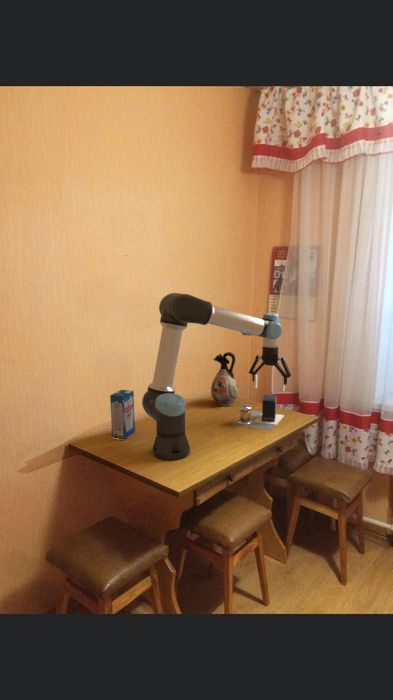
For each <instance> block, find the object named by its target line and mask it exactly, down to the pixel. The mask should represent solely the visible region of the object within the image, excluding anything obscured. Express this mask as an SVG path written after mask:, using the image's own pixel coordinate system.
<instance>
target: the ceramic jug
mask: <svg viewBox="0 0 393 700" xmlns="http://www.w3.org/2000/svg"><path fill="white" fill-rule="evenodd" d="M227 357H231V365H230V368H229V367H228V364H230V360H229V359H228V358H227ZM213 361H215V362H218V363H219V364H220V369H218V372H216V375H215V376H214V377H213V381H212V382H211V388H210V394H211V398H212V399H213V400H214V401H215V403H216V405H218V406H221V407H228V406H233V405H234V402H235V400H237V398H238V396H239V385H238V382H237V380H236V378H235V375H234V373H233V370H234V367H235V364H236V355H235V354H234V352H230V351H227V352H224V354H221V353H219V354H218V355H216V356H215V357H214V358H213Z"/></svg>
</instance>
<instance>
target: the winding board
mask: <svg viewBox="0 0 393 700" xmlns="http://www.w3.org/2000/svg"><path fill="white" fill-rule="evenodd" d="M285 416H286V415H285V414H282V413H281V414H280V413H276V417H275V422H270V421H262V411H259V410H258V411H257V410H250V420H252V424H251V425H240V424H238V420H239V418H238V419H237V420H236V421H235V422H234V423H232V424H233V425H234V426H239V427H248V428H255V429H259V430H260V429H262V430H268V431H273V430H274V429H275V427H277V425H278V424H279V423H280V422H281V421H282V420H283V418H284V417H285Z"/></svg>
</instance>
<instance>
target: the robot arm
mask: <svg viewBox="0 0 393 700" xmlns="http://www.w3.org/2000/svg"><path fill="white" fill-rule="evenodd" d="M212 303H213V302H211V301H208V300H204V299H201V298H200V297H196V296H193V295H192V294H188V293H179V292H172V293H168V294H166V295H165V296H164V297H162V298H161V300H160V302H159V305H158V311H159V313H160V319H159V324H160V325H161V327H162V329H161V334H160V341H159V346H158V352H157V358H156V362H155V367H154V371H153V372H154V373H153V377H152V378H153V379H152V382H151V383H150V384H148V386H147V391H146V392H144V394H143V396H142V399H141V404H142V405H141V406H142V408H143V410H144V412H145V414H147V415H148V416H149V417H150V418H152V419H153V420H154V421H156V422H155V425H156V426H155V429H156V436H155V440H154V444H153V446H152V456H153V457H154V458H156V459H158V460H164V461H177V460H182V459H184V458H186V457H188V456H190V454H191V447H190V444H189V440H188V437H187V435H186V403H185V399H184V397H183V396H181V395H180V394H175V392H176V389H175V387H174V386H173V384H174V380H175V379H174V378H175V375H176V374H175V373H176V367H177V363H178V359H179V358H178V357H179V352H180V347H181V341H182V336H183V331H184V330H186V329H187V328H188V324H197V325H202V326H206V325H208V324H209V325H211V326H212V325H213V326H216V327H220V328H225V329H229V330H232V331H233V330H234V331H238V332H240V333H241V335H243V336H255V337H261V338H262V349H261V351H262V352H261V353H262V355H260V354H257V355H255V357H254V358H255V359H254V361H253V364H252V365H251V367H250V369H249V371H248V374H250V375H252V382H253V383H254V384H253V389H257V388H258V378H259V377H258V372H259V371H260V370H261V369H262V368H263V367H264V366H271V367H273V366H274V367H275V368H276V370H277V371H278V372H279V373H280V375H281V376H282V378H281V392H285V390H286V385H287V384H288V378H291V376H292V374H291V371H290V369H289V366H288V364H287V362H286V358H285V356H282V357H280V356H279V341H280V337H281V335H282V333H283V327H282V325H281V323H280V315H279V314H278V313H272V312H271V313H268V312H267V313H263V316H262V318H260V317H256V316H253V315H248V314H247V313H246V314H245V313H242V312H239V311H234V310H231V309H227V308H224V307H220V306H215V305H213V304H212ZM261 360H262V362H261V363H260V364H259V361H261ZM278 361H279V362H278ZM280 362H281V364H282V366H281V365H280V364H279V363H280ZM257 364H259V366H258V367H257ZM256 367H257V368H256ZM255 368H256V369H255Z"/></svg>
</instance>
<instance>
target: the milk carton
mask: <svg viewBox="0 0 393 700" xmlns="http://www.w3.org/2000/svg"><path fill="white" fill-rule="evenodd" d="M109 398H110V418H111V422H110V423H111V438H112V437H114V438H119V439H126V438H127V437H128V436H130V435H131V434H133V433H134V432H135V433H136V420H135V395H134V390H129V389H120V390H118V391H116V392H114V393H112V394H110V395H109ZM135 433H134V434H135ZM134 434H133V435H134ZM131 436H132V435H131ZM131 436H130V437H131ZM127 439H128V438H127ZM127 439H126V440H127Z"/></svg>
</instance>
